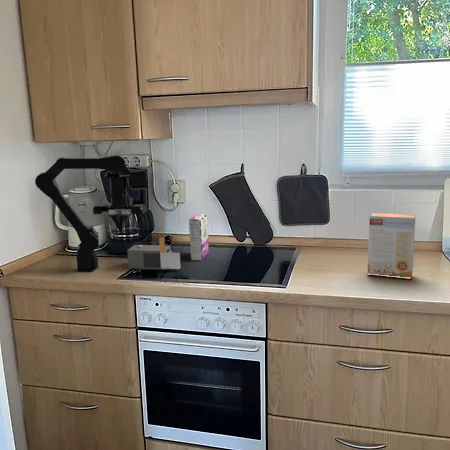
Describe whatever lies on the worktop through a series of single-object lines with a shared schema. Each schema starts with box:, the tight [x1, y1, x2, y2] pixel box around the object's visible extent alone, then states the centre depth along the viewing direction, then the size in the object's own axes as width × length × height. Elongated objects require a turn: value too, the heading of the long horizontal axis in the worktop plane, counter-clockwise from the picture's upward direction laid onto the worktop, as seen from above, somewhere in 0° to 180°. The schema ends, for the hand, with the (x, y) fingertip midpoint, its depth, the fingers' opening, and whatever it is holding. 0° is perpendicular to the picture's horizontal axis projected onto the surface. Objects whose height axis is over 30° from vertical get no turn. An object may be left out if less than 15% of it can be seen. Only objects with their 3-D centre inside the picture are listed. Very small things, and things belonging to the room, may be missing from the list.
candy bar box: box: [188, 213, 210, 262], centre depth 185 cm, size 11×5×16 cm, turn 168°
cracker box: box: [367, 212, 416, 278], centre depth 157 cm, size 14×6×21 cm, turn 65°
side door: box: [158, 237, 181, 270], centre depth 168 cm, size 7×1×11 cm, turn 81°
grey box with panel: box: [126, 244, 174, 271], centre depth 174 cm, size 15×8×8 cm, turn 81°
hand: (121, 232), depth 173 cm, fingers closed
